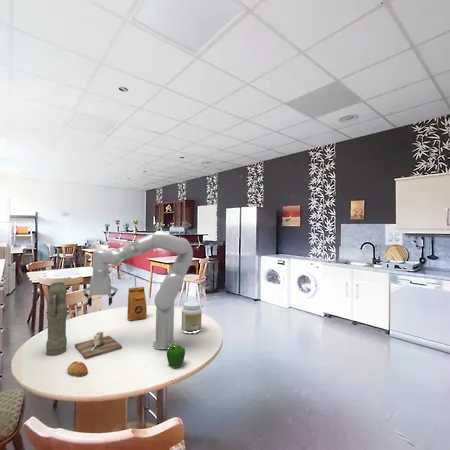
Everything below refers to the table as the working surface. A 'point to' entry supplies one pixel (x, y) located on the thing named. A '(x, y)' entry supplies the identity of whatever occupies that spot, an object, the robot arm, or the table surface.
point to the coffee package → (136, 304)
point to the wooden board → (106, 348)
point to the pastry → (77, 369)
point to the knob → (98, 340)
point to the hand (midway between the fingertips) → (100, 305)
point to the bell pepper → (175, 355)
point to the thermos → (56, 319)
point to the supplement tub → (191, 317)
